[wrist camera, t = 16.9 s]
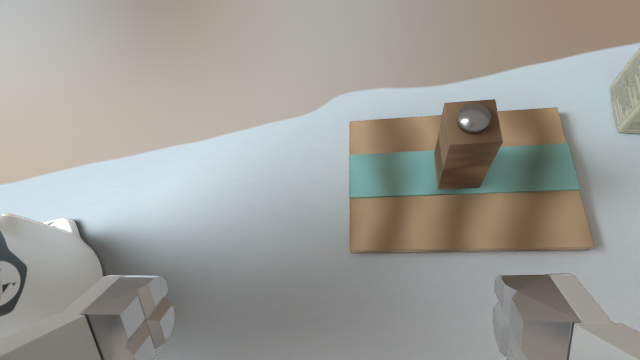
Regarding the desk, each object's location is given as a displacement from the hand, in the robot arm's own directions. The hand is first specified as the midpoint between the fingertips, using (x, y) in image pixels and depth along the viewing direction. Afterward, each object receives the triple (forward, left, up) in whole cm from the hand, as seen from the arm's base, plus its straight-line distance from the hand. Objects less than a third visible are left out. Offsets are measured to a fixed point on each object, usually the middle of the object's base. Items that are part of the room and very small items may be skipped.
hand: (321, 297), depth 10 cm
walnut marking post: (+9, +16, -28) cm, 34 cm away
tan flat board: (+9, +16, -29) cm, 35 cm away
